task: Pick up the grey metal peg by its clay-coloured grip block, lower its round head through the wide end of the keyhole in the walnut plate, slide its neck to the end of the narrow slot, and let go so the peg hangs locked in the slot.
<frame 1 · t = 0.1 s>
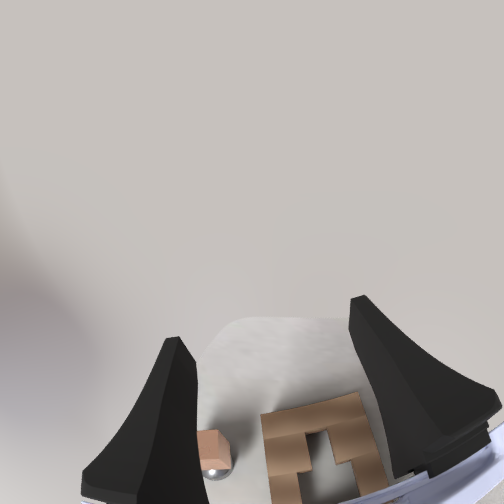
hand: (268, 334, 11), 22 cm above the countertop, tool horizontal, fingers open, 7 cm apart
peg: (215, 464, 24), on the countertop
keyhole plate: (323, 473, 21), on the countertop
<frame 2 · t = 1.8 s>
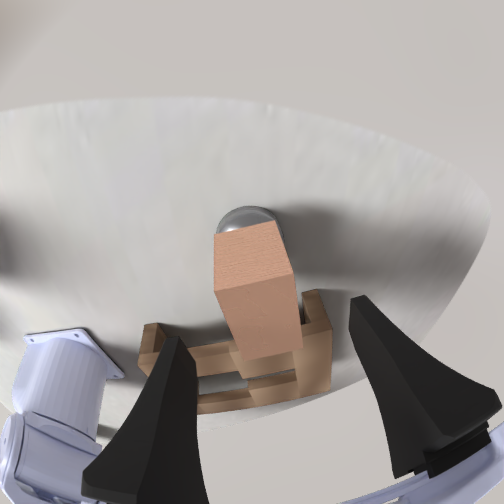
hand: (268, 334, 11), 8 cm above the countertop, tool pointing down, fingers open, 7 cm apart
peg: (248, 235, 18), on the countertop
keyhole plate: (241, 346, 24), on the countertop
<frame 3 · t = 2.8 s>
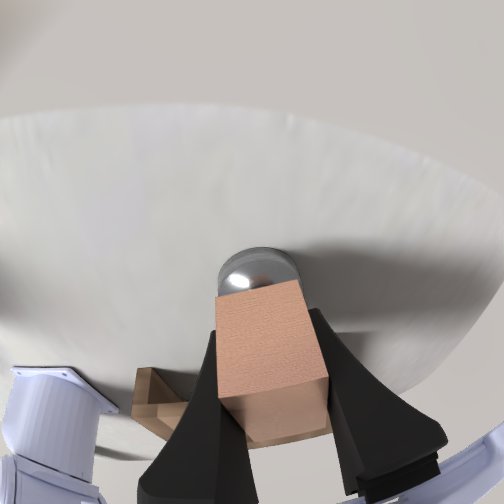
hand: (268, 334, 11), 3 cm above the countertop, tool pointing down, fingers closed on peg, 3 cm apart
peg: (258, 280, 14), on the countertop, touching gripper
keyhole plate: (246, 388, 21), on the countertop
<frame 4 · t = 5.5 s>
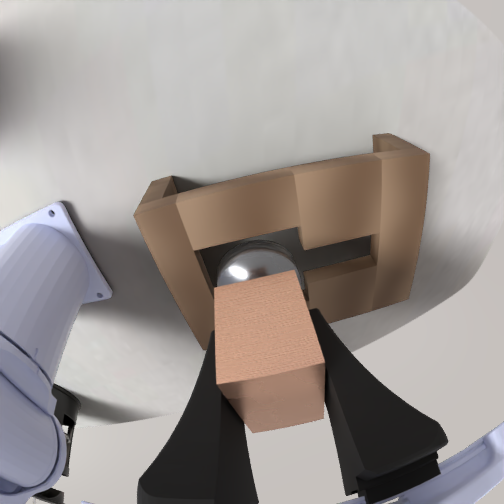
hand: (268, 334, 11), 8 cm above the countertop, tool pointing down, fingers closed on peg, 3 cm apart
peg: (256, 273, 14), point 4 cm above the countertop, touching gripper
keyhole plate: (289, 227, 17), on the countertop
french press: (51, 393, 29), on the countertop
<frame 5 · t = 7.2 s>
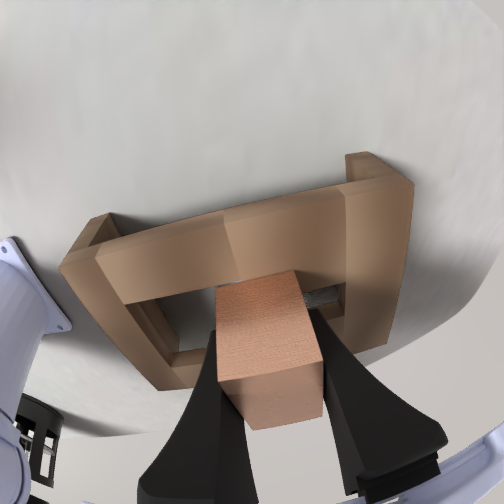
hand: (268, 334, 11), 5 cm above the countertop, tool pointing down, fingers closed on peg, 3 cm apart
peg: (256, 273, 15), point 1 cm above the countertop, touching gripper
keyhole plate: (245, 265, 15), on the countertop
french press: (35, 406, 27), on the countertop
when the fingers open (5 cm above the countertop, at t = 8.1 s): peg stays where it is, resting on keyhole plate.
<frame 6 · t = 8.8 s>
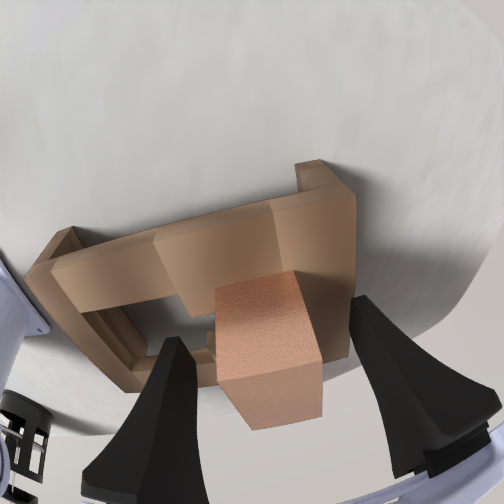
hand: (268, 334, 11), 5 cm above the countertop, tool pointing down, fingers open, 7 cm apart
peg: (256, 273, 15), point 1 cm above the countertop, touching keyhole plate
keyhole plate: (201, 275, 15), on the countertop
french press: (27, 405, 27), on the countertop
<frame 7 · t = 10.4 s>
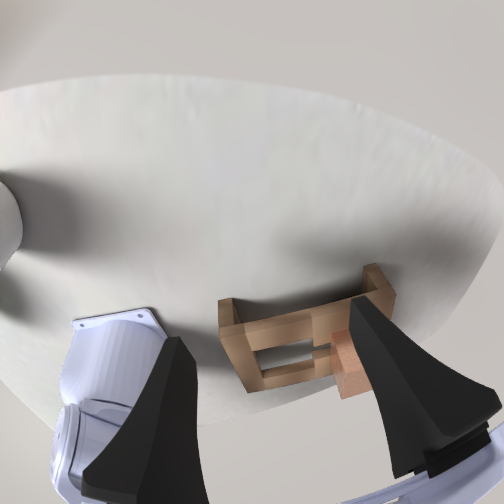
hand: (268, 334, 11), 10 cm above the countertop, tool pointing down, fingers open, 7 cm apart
peg: (336, 318, 26), point 1 cm above the countertop, touching keyhole plate
keyhole plate: (304, 319, 26), on the countertop
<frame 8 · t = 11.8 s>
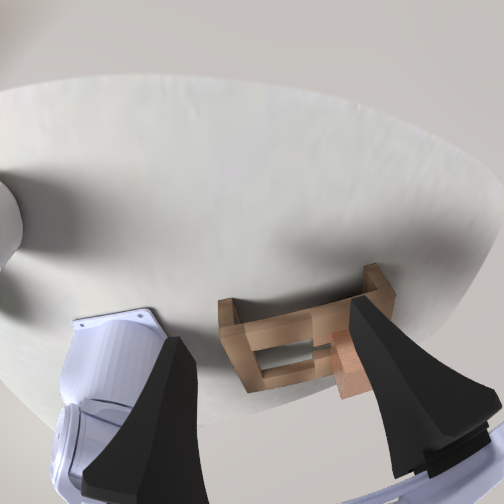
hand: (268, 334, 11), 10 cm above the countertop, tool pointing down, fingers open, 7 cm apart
peg: (336, 318, 26), point 1 cm above the countertop, touching keyhole plate
keyhole plate: (304, 320, 26), on the countertop
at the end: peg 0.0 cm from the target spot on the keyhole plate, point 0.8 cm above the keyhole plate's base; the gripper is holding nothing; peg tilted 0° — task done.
